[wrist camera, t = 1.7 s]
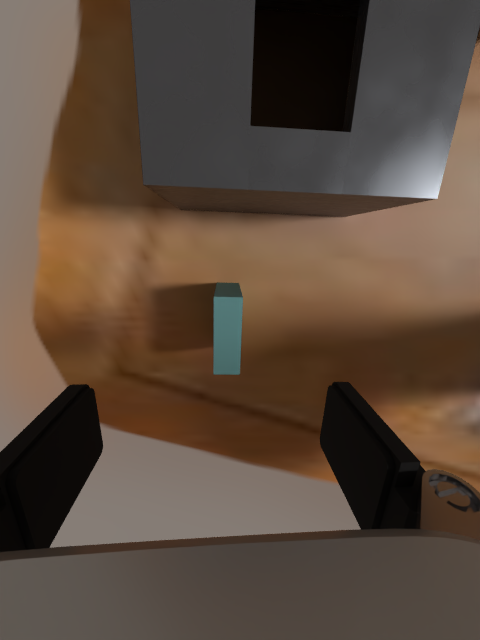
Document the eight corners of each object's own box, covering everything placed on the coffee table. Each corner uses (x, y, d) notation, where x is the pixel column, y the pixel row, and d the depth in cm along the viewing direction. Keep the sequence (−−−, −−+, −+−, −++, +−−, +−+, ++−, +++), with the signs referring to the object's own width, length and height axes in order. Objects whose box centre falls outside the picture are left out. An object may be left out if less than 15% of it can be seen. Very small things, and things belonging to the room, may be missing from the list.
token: (238, 283, 23) (242, 297, 17) (236, 343, 25) (239, 374, 19) (216, 282, 23) (213, 296, 17) (216, 343, 25) (213, 374, 19)
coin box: (377, 0, 18) (555, -284, 8) (345, 216, 22) (437, 198, 12) (173, -19, 17) (103, -362, 7) (181, 209, 21) (143, 184, 11)
